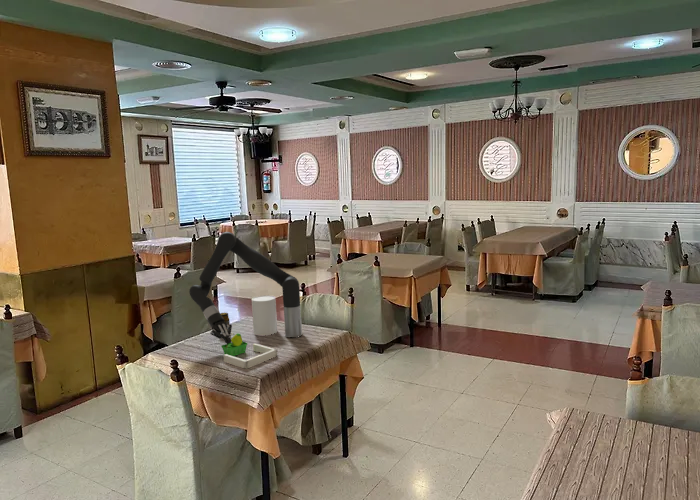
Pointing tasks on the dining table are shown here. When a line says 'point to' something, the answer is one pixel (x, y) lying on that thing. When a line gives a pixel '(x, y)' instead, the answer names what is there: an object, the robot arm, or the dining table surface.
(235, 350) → the fruit basket
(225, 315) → the condiment
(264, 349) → the corral
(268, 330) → the canister
